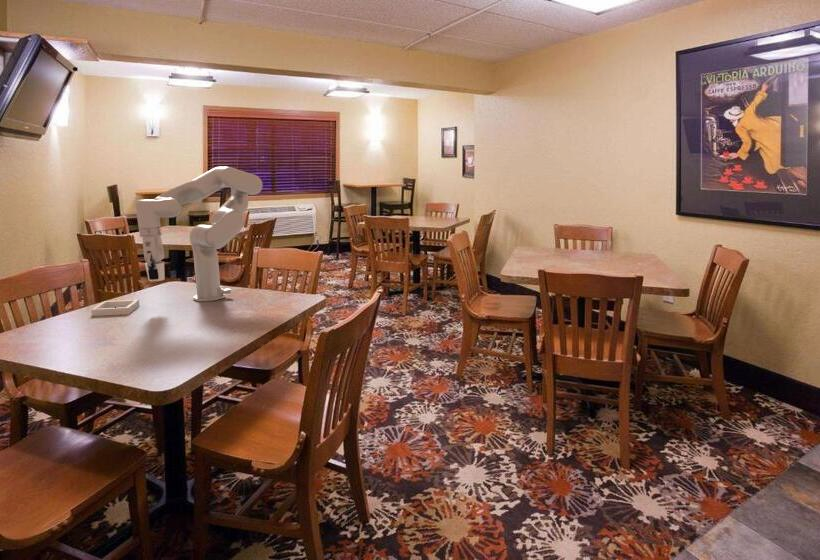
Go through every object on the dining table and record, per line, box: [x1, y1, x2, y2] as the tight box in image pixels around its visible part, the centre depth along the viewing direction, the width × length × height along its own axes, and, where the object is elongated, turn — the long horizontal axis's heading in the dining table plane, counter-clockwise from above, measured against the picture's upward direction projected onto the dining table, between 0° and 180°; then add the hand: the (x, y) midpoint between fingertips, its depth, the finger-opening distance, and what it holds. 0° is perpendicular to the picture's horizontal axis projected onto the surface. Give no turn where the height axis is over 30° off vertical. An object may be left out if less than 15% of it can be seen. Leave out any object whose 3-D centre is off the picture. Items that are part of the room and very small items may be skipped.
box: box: [90, 299, 140, 317], centre depth 193 cm, size 13×13×2 cm
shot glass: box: [144, 260, 166, 282], centre depth 193 cm, size 7×7×7 cm
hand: (156, 276), depth 194 cm, fingers closed on shot glass, 6 cm apart
